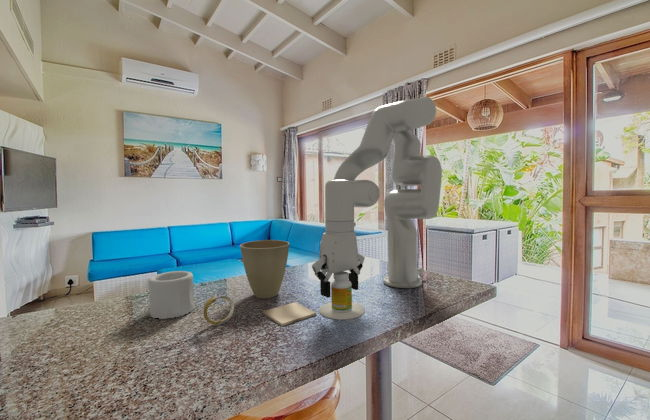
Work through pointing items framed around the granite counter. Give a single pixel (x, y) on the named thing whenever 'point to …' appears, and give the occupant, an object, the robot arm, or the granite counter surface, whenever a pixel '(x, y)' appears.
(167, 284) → the mug
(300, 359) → the granite counter surface
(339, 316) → the coaster
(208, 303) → the ring
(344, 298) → the supplement bottle
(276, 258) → the plant pot
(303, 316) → the wooden mat
